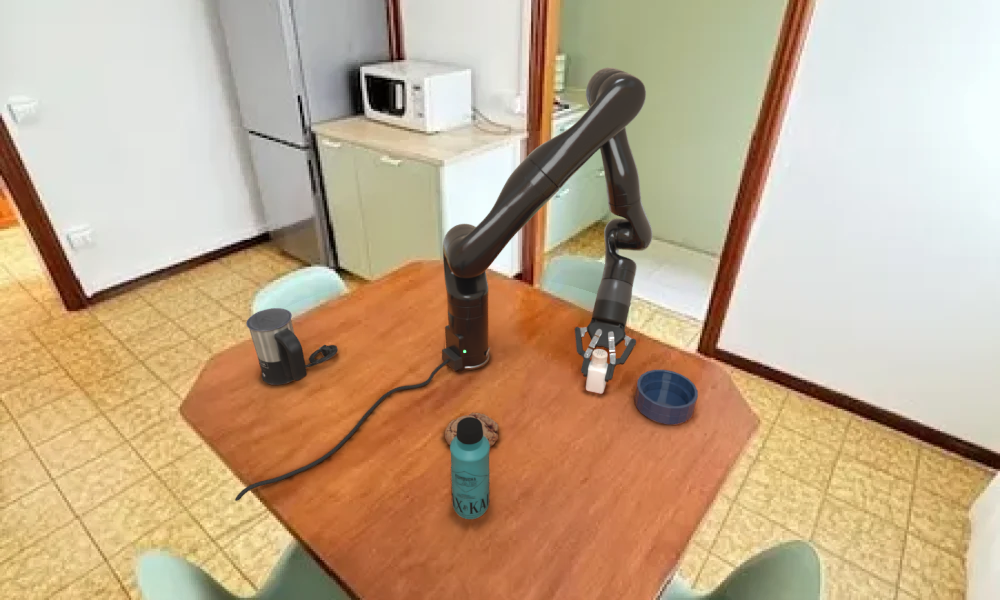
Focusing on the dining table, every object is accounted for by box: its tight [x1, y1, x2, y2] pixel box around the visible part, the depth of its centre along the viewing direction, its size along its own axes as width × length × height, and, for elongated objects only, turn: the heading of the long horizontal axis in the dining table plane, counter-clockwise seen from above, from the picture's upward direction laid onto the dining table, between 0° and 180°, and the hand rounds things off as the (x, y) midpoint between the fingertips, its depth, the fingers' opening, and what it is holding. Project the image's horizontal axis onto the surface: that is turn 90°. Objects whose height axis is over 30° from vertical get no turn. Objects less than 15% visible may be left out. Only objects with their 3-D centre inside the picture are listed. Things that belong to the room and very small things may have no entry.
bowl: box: [633, 369, 699, 425], centre depth 114 cm, size 12×12×5 cm
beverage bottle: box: [449, 417, 491, 520], centre depth 87 cm, size 6×7×20 cm
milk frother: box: [245, 307, 339, 386], centre depth 122 cm, size 14×16×15 cm
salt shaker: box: [585, 348, 609, 395], centre depth 117 cm, size 4×4×10 cm
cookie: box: [444, 412, 500, 448], centre depth 106 cm, size 10×11×3 cm
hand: (595, 378), depth 116 cm, fingers closed on salt shaker, 4 cm apart
